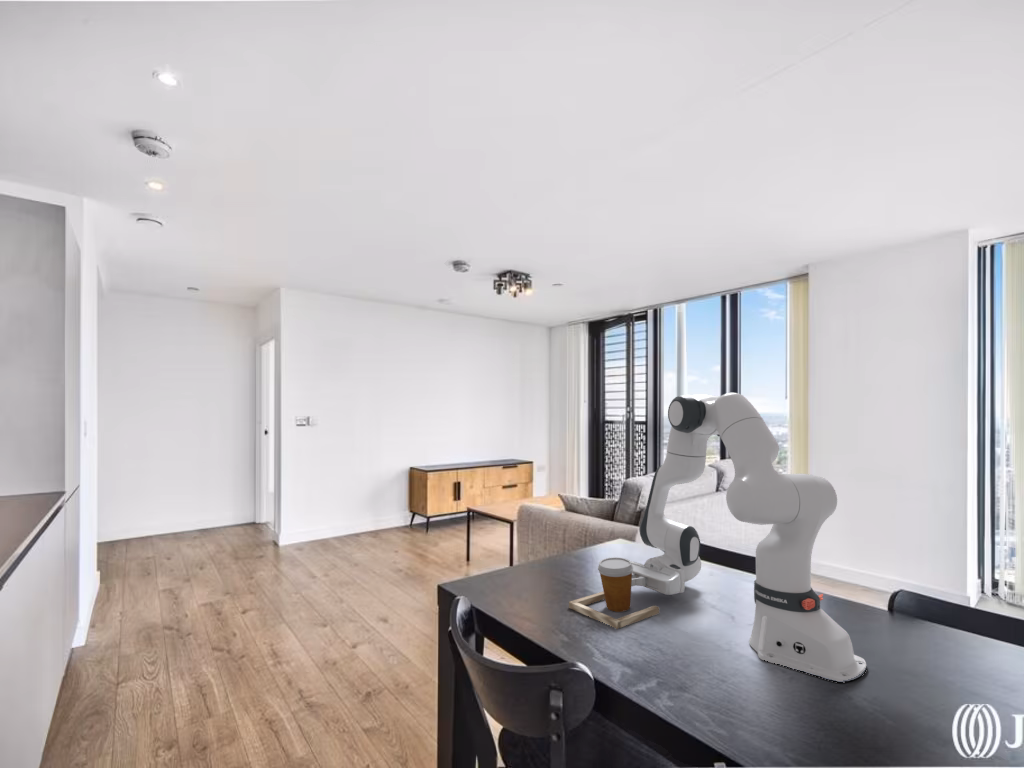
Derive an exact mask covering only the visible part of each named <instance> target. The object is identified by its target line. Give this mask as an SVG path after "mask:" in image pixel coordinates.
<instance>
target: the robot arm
mask: <svg viewBox="0 0 1024 768" xmlns="http://www.w3.org/2000/svg"><path fill="white" fill-rule="evenodd" d="M667 419H668V421H669V424H670V426H671V427H670V431H669V435H668V441H667V448H666V455H665V458H664V461H663V463H662V464H661V465H660V466H658V467H657V468H656V470H655V472H654V475H653V477H652V482H651V486H650V489H649V494H648V499H647V503H646V507H645V511H644V514H643V517H642V519H641V521H640V524H639V529H638V530H639V536H640V538H641V541H642V542H643V544H644V545H645V546H648V547H651V548H655V549H658V550H661V551H663V552H664V553H663V554H662V555H657V556H655V557H651V558H648V559H647V560H646V561H645V562H644V564H642V563H641V562H640V563H639V562H637V561H632V560H630V561H631V563H632V566H633V567H634V568H633V571H632V583H631V587H635V586H636V587H639V586H640V587H643V588H647V589H649V590H652V591H655V592H657V593H660V594H664V595H666V596H669V595H670V596H671V595H672V596H673V595H676V594H681V593H684V592H685V585H686V584H685V583H686V582H689V581H691V580H693V579H694V578H696V577H697V576H698V575H699V573H700V572H701V570H702V560H701V558H700V556H699V555H700V553H701V540H700V536H699V533H698V531H697V530H696V528H695V527H693V526H691V525H688V524H685V523H683V522H680V521H677V520H674V519H670V518H668V517H667V516H666V515H665V508H666V503H667V499H668V496H669V492H670V490H671V489H672V488H673V487H674V486H677V485H683V484H688V483H692V482H694V481H696V480H698V479H699V478H701V476H702V475H703V473H704V471H705V468H706V461H707V445H708V440H709V438H710V437H711V436H714V435H715V436H718V437H719V438H720V439H721V441H722V442H723V445H724V447H725V449H726V451H727V453H728V456H729V457H730V459H731V461H732V465H733V468H734V476H733V477H734V478H733V480H732V481H731V482H730V484H729V486H728V487H727V490H726V494H725V495H726V497H725V498H726V499H725V500H726V505H727V508H728V510H729V512H730V513H731V515H732V516H733V517H734V518H735V519H736V520H737V521H739V522H743V523H747V524H752V525H753V524H754V525H759V526H760V525H761V526H763V525H765V526H766V525H772V527H771V529H770V531H769V532H768V534H767V535H766V536H765V537H764V538H763V539H761V541H760V542H758V544H757V545H756V548H755V580H754V582H753V584H754V585H753V599H754V604H755V610H754V619H753V626H752V631H751V634H750V637H749V641H748V642H749V645H750V647H751V648H752V649H753V650H754V651H755V652H756V653H757V656H758V658H759V659H760V660H762V661H764V660H765V662H767V661H768V663H771V664H774V663H775V665H777V664H780V665H779V666H781V665H783V666H782V667H784V666H787V667H790V668H794V669H798V670H801V671H805V672H808V673H812V674H815V675H819V676H822V677H825V678H829V679H832V680H836V681H843V680H848V679H851V678H854V677H856V676H858V675H859V674H861V673H862V672H863V671H864V670H865V668H866V666H867V662H866V660H865V659H864V658H863V657H861V656H858V655H856V654H855V652H854V647H853V643H852V639H851V637H850V635H849V633H848V632H847V631H846V630H845V629H844V628H843V627H842V626H841V625H840V624H839V623H838V622H836V621H835V620H834V619H833V618H832V617H831V616H829V614H827V612H825V611H824V609H822V608H821V601H822V600H824V598H823V596H824V594H823V593H821V594H819V595H818V594H817V593H816V591H814V589H813V587H812V585H811V583H812V576H811V574H812V573H811V572H812V571H811V570H812V553H813V549H814V545H815V542H816V539H817V537H818V534H819V532H820V529H822V528H821V527H822V526H823V525H824V523H825V522H826V521H827V519H829V518H830V517H831V516H832V515H833V514H834V512H835V511H836V509H837V505H838V497H837V492H836V490H835V487H834V486H833V484H832V483H831V482H830V481H829V480H827V479H826V478H825V477H822V476H817V475H814V474H810V473H809V474H808V473H778V472H777V471H776V470H775V469H774V466H773V463H774V462H775V461H776V459H777V457H778V456H779V451H780V447H779V443H778V441H777V440H776V438H775V437H774V435H773V433H772V432H771V430H770V428H769V426H768V425H767V423H766V422H765V420H764V419H763V417H762V416H761V414H760V413H759V411H758V410H757V408H755V407H754V405H753V404H752V403H751V402H750V400H748V399H747V398H746V397H745V396H744V395H743V394H741V393H738V392H729V393H724V394H722V395H719V396H718V395H710V394H693V395H691V394H682V395H678V396H675V397H674V398H673V399H672V400H671V401H670V404H669V406H668V411H667ZM859 663H862V664H859ZM787 667H786V668H787ZM790 668H789V669H790ZM794 669H793V670H794Z"/></svg>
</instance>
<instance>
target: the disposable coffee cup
mask: <svg viewBox="0 0 1024 768" xmlns="http://www.w3.org/2000/svg"><path fill="white" fill-rule="evenodd" d="M631 561H632V560H630V559H627V558H624V557H618V556H617V557H615V556H614V557H606V558H604V559H601V560H600V561H599V562H598V565H597V570H598V573H599V574H600V580H601V585H602V590H603V591H604V596H605V599H604V600H605V606H606V608H608V609H607V610H608V611H610V612H614V611H615V613H623V612H627V611H629V610H630V609H631V603H632V602H631V601H632V600H631V598H632V586H631V583H632V571H633V568H634V567H633V566H632V563H631ZM603 591H602V592H603Z"/></svg>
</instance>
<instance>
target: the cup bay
mask: <svg viewBox="0 0 1024 768" xmlns="http://www.w3.org/2000/svg"><path fill="white" fill-rule="evenodd" d="M603 599H604V600H605V596H604V591H600V592H596V593H593V594H591V595H587V596H582V597H580V598H578V599H577V598H576V599H573V600H570V601H568V609H571V610H573V611H575V612H578V613H580V614H582V615H584V616H587V617H588V616H589V617H588V618H591V619H593V620H595V621H597V620H598V621H597V622H599V621H600V623H602V622H603V623H602V624H604V623H605V624H604V625H606V624H608V625H610V626H609V627H611V626H612V627H611V628H613V627H614V628H613V629H615V628H616V629H615V630H618V628H619V629H621V628H623V627H626V625H627V626H629V625H632V624H634V623H637V622H640V621H642V620H645V618H646V619H649V618H650V617H653V616H656V615H659V614H660V607H659V606H657V605H652V606H649V607H647V608H644V609H641V610H637V611H635V612H632V613H630V614H627V615H624V616H621V617H618V618H615V617H613V616H611V615H608V614H606V613H603V612H601V611H598V610H595V609H593V608H591V607H589V605H591V603H592V604H594V602H595V603H598V602H601V601H604V600H603ZM600 600H601V601H600ZM597 601H598V602H597ZM608 625H607V626H608Z"/></svg>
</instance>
